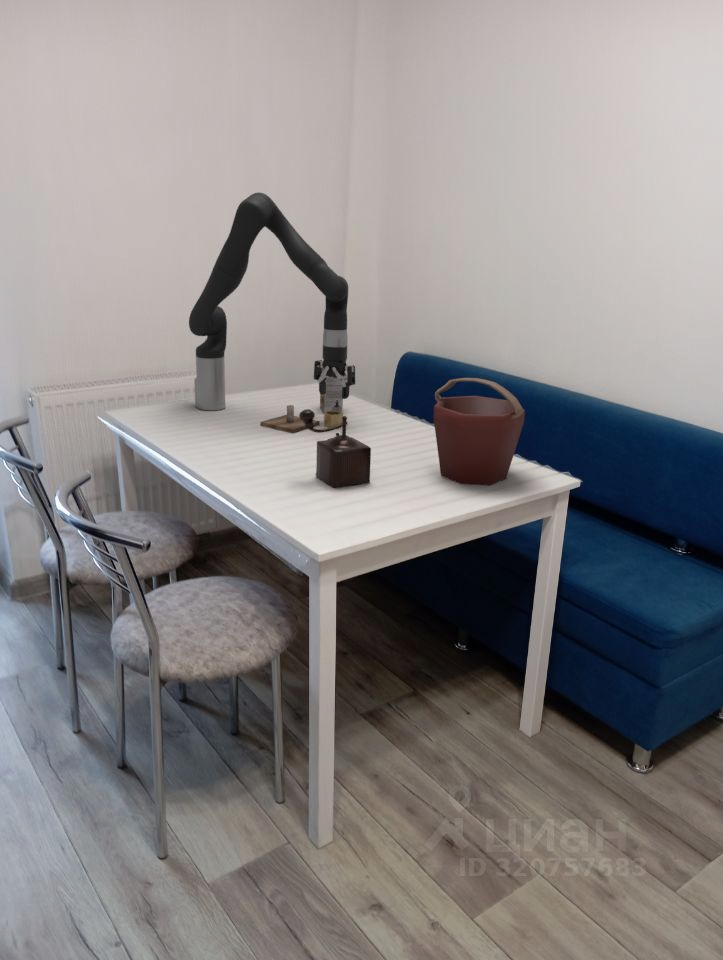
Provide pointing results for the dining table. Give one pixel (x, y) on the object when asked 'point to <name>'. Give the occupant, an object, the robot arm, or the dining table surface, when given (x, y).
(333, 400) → the coffee box
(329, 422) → the gold octagonal ring
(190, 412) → the dining table surface
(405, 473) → the dining table surface
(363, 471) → the manual coffee grinder
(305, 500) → the dining table surface
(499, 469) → the bucket
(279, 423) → the post stand
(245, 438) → the dining table surface
